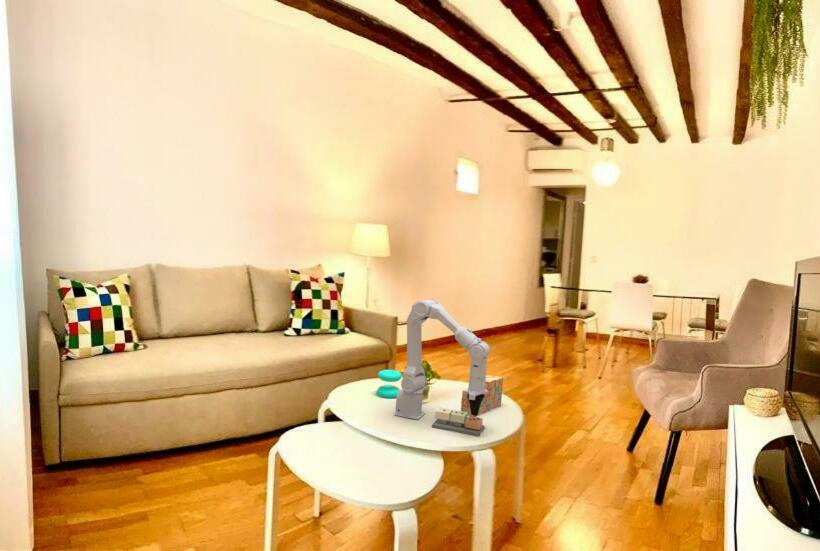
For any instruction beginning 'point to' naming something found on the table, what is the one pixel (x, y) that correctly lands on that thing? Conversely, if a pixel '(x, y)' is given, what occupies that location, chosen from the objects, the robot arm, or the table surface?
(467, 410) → the stack of blocks
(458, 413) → the tile two
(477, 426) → the tile three
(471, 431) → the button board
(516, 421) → the table surface
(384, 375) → the donuts
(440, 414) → the tile one
